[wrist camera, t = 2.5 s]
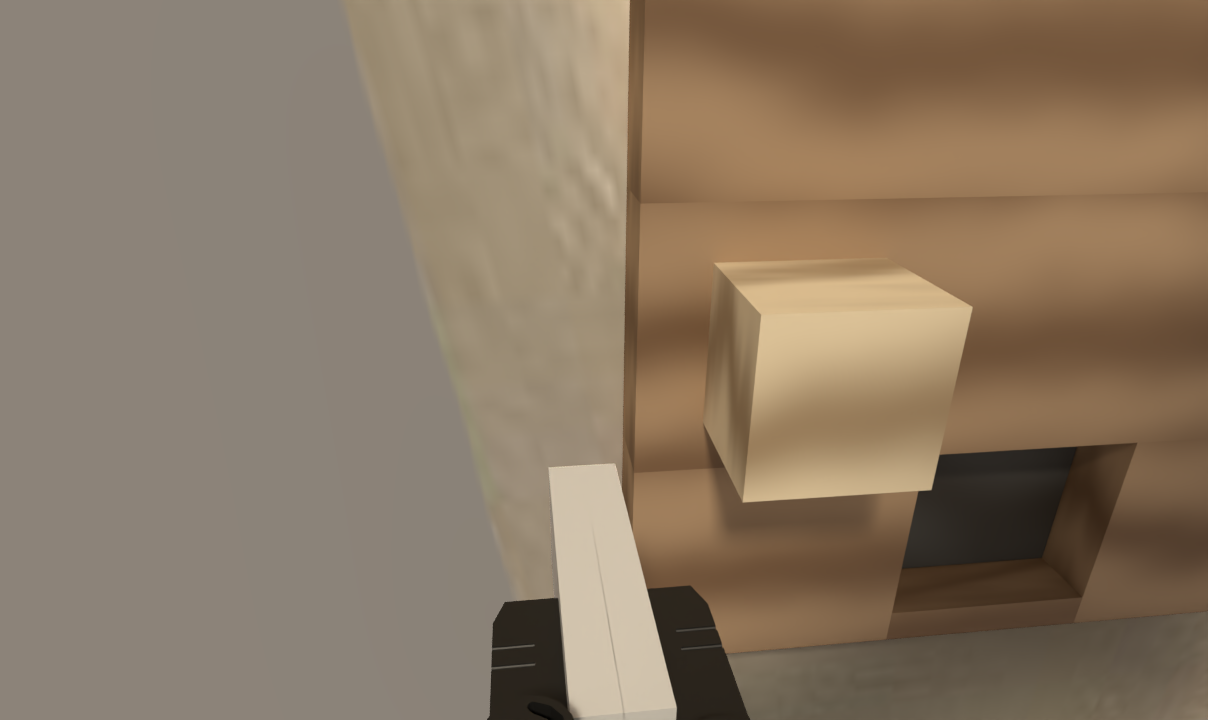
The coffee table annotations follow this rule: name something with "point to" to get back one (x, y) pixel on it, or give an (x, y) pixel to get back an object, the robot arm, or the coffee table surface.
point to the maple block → (830, 376)
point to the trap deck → (954, 264)
